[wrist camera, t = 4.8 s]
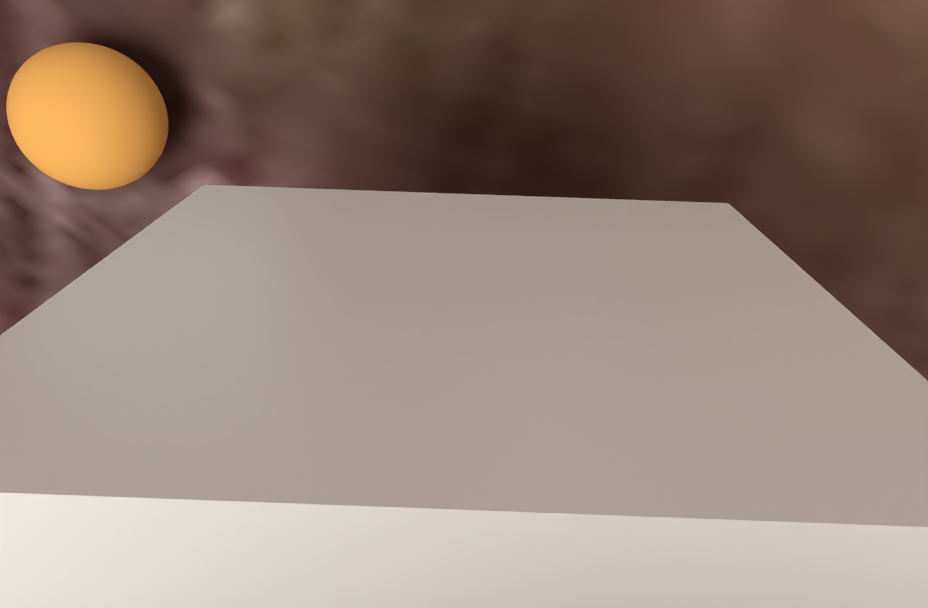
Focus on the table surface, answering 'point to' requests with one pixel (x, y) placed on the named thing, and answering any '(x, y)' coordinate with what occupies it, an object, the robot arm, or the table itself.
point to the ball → (87, 115)
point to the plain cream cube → (456, 415)
